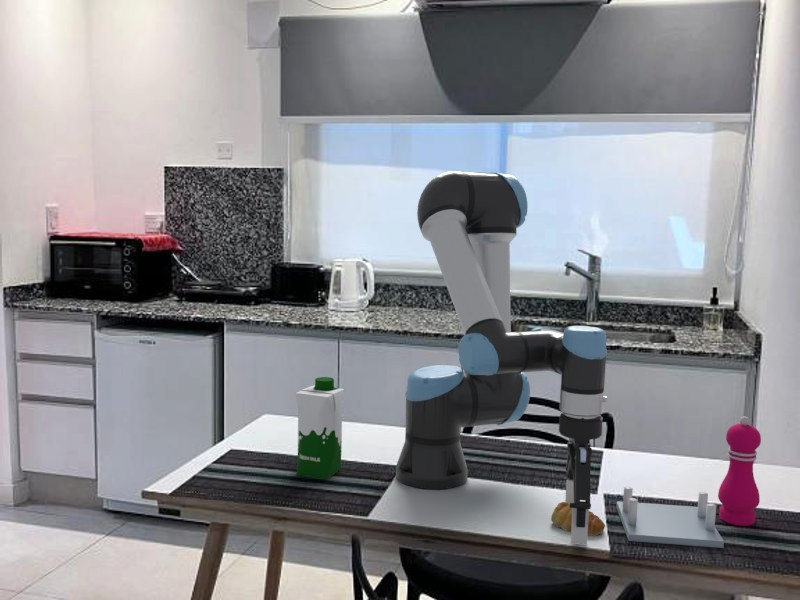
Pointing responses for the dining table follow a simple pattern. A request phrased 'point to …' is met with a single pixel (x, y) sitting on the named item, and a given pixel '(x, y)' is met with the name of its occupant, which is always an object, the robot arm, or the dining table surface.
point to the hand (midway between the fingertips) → (575, 528)
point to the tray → (669, 522)
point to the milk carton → (319, 429)
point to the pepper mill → (740, 475)
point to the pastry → (564, 519)
